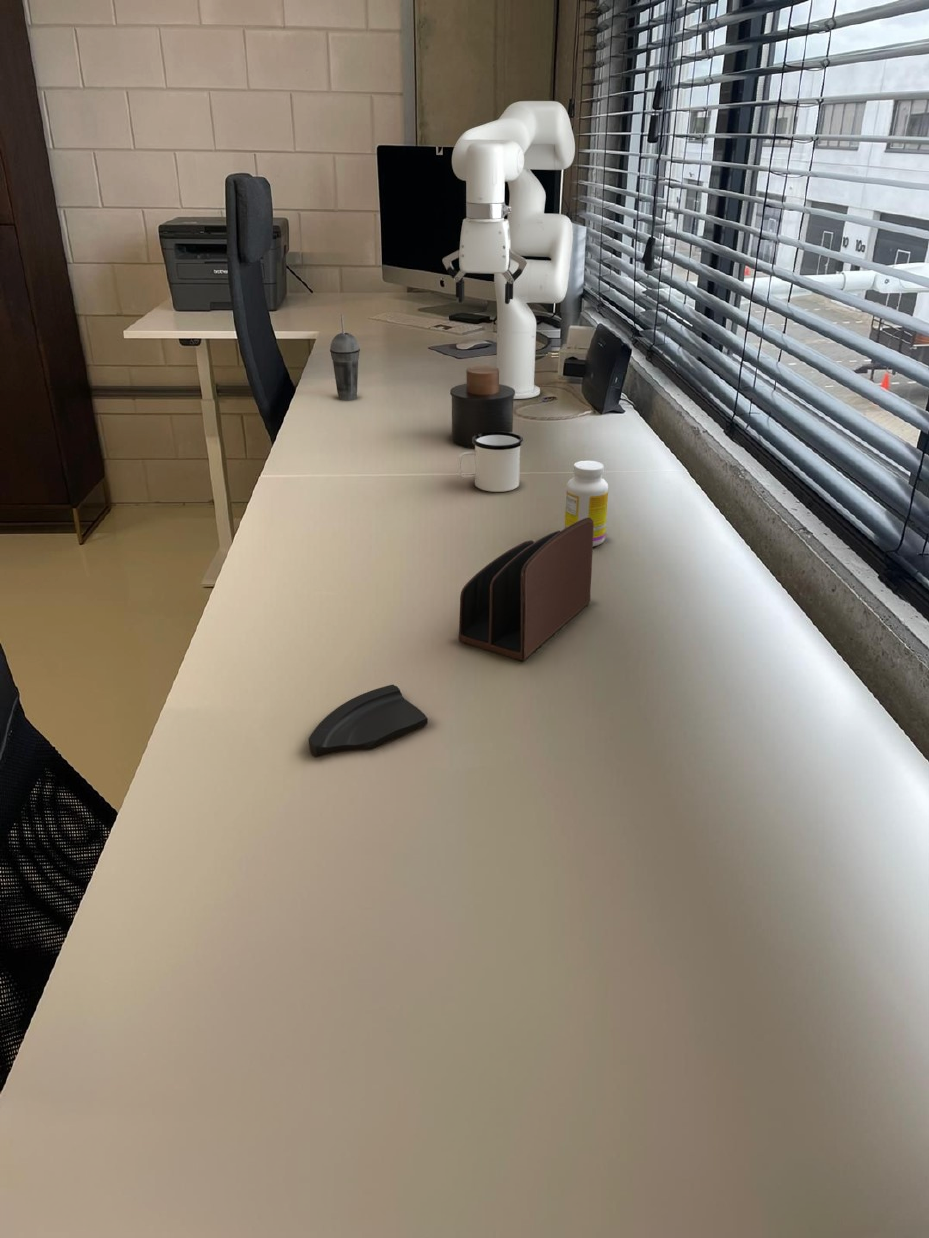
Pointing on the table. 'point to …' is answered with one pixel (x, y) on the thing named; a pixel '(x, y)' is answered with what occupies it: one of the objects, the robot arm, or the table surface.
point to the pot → (480, 413)
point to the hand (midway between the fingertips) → (484, 302)
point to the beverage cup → (345, 364)
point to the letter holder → (528, 592)
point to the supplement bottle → (588, 498)
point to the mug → (495, 461)
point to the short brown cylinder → (482, 380)
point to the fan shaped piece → (366, 722)
